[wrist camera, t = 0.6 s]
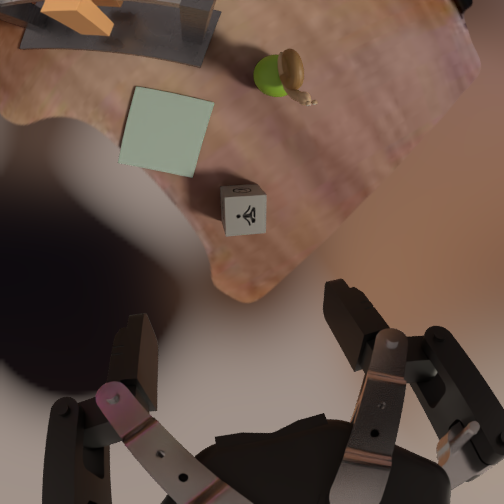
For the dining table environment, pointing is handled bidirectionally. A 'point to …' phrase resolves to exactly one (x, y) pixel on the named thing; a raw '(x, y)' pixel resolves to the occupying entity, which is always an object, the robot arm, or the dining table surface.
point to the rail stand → (125, 29)
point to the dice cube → (243, 209)
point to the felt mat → (164, 131)
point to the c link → (82, 15)
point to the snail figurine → (282, 76)
